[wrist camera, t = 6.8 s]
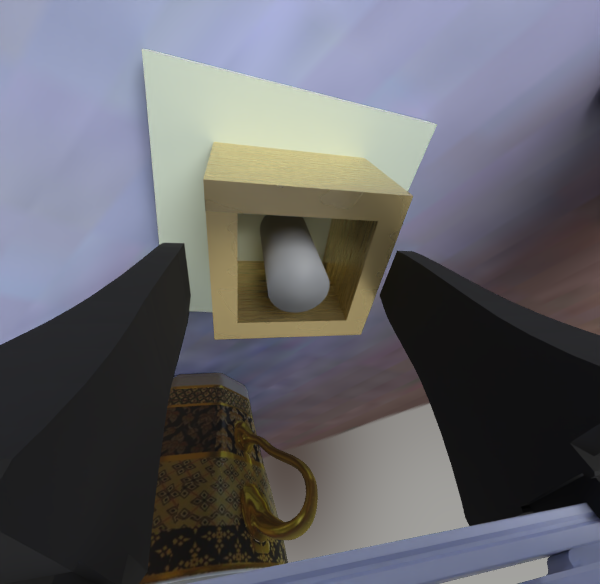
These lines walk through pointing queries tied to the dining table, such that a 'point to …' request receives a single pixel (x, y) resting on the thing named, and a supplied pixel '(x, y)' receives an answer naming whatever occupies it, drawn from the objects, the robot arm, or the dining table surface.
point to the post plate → (262, 133)
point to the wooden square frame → (301, 203)
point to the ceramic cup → (217, 488)
